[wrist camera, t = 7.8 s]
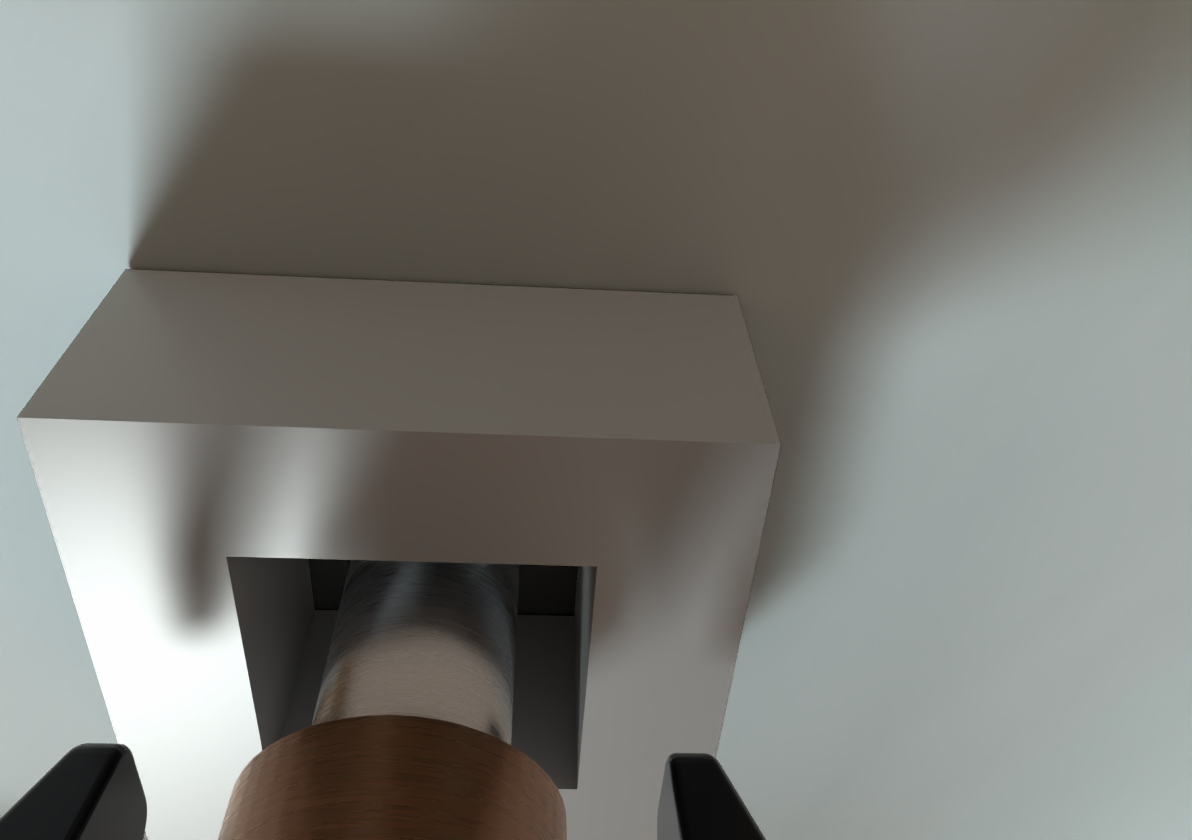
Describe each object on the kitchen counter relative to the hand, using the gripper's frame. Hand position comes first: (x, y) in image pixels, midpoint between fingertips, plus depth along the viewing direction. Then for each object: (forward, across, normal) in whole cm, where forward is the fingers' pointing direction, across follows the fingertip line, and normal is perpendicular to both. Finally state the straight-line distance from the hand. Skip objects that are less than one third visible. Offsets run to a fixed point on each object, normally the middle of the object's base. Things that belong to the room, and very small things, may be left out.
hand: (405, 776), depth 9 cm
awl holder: (+4, 0, 0) cm, 4 cm away
